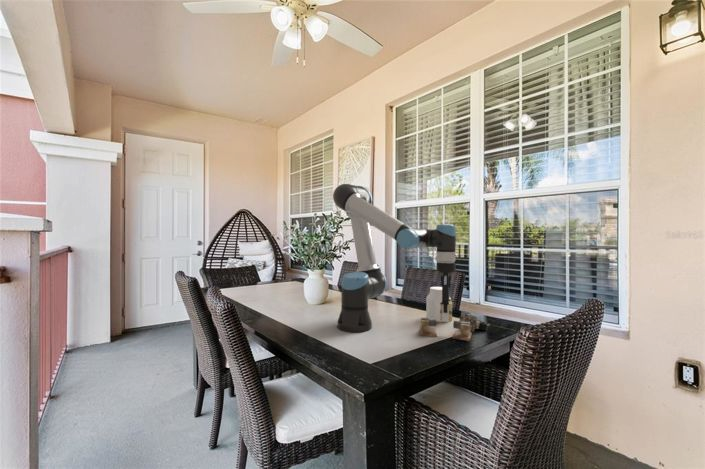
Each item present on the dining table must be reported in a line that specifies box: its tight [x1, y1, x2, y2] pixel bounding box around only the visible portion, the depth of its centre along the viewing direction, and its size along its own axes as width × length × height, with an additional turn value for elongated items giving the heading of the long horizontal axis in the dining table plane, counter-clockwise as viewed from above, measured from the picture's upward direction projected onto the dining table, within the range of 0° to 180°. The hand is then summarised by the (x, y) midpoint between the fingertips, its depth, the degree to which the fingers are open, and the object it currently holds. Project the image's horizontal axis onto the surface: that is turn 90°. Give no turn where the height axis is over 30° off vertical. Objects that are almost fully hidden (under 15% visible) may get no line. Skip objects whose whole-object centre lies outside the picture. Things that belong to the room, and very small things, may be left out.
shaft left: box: [419, 317, 438, 337], centre depth 136 cm, size 6×8×6 cm
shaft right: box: [451, 320, 473, 342], centre depth 132 cm, size 6×8×6 cm
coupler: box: [440, 301, 453, 322], centre depth 134 cm, size 5×5×7 cm
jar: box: [425, 286, 452, 323], centre depth 157 cm, size 12×10×15 cm
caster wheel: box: [458, 312, 488, 333], centre depth 143 cm, size 7×11×10 cm
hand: (445, 318), depth 135 cm, fingers closed on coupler, 5 cm apart
